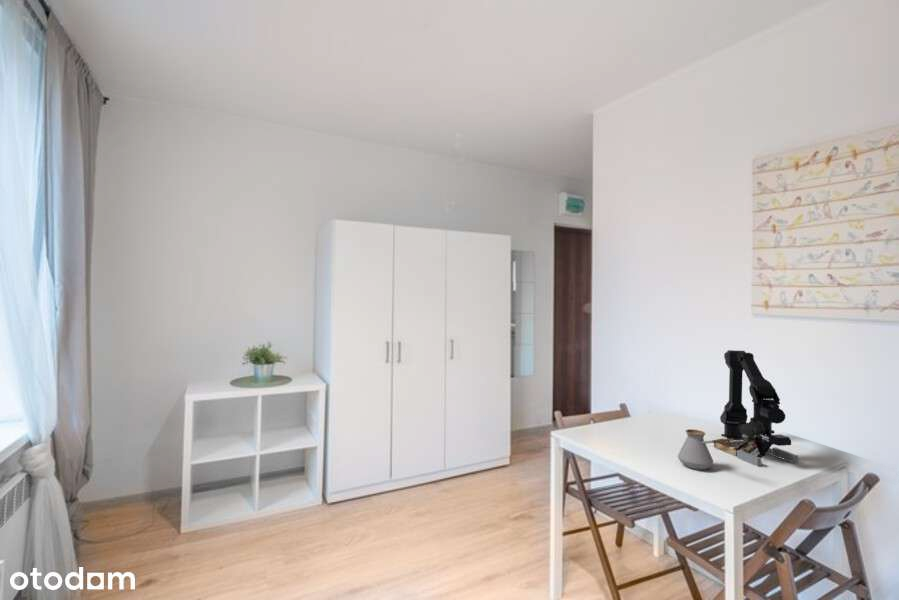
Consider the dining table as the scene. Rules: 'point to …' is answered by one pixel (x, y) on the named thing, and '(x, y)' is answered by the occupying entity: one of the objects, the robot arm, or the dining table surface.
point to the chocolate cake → (748, 446)
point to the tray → (726, 445)
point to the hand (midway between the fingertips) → (762, 456)
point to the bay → (757, 460)
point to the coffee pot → (697, 450)
